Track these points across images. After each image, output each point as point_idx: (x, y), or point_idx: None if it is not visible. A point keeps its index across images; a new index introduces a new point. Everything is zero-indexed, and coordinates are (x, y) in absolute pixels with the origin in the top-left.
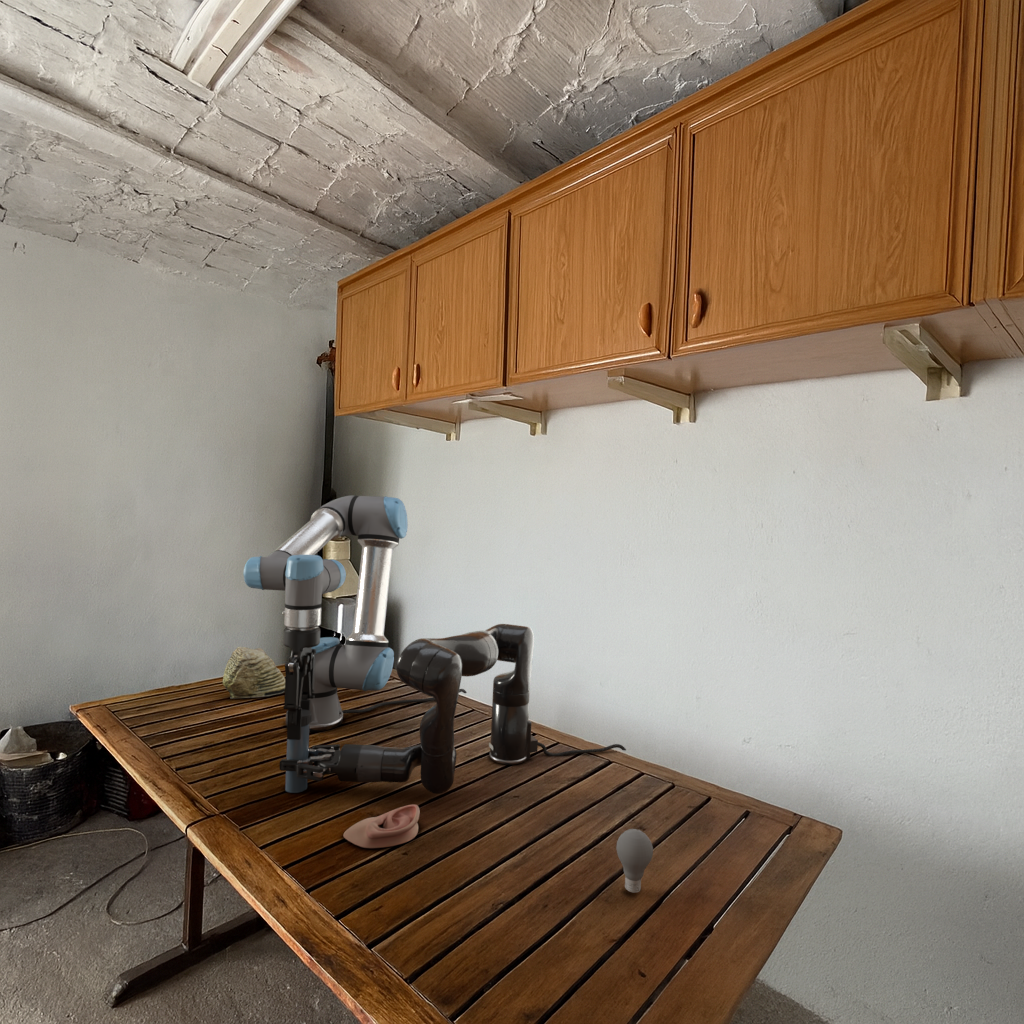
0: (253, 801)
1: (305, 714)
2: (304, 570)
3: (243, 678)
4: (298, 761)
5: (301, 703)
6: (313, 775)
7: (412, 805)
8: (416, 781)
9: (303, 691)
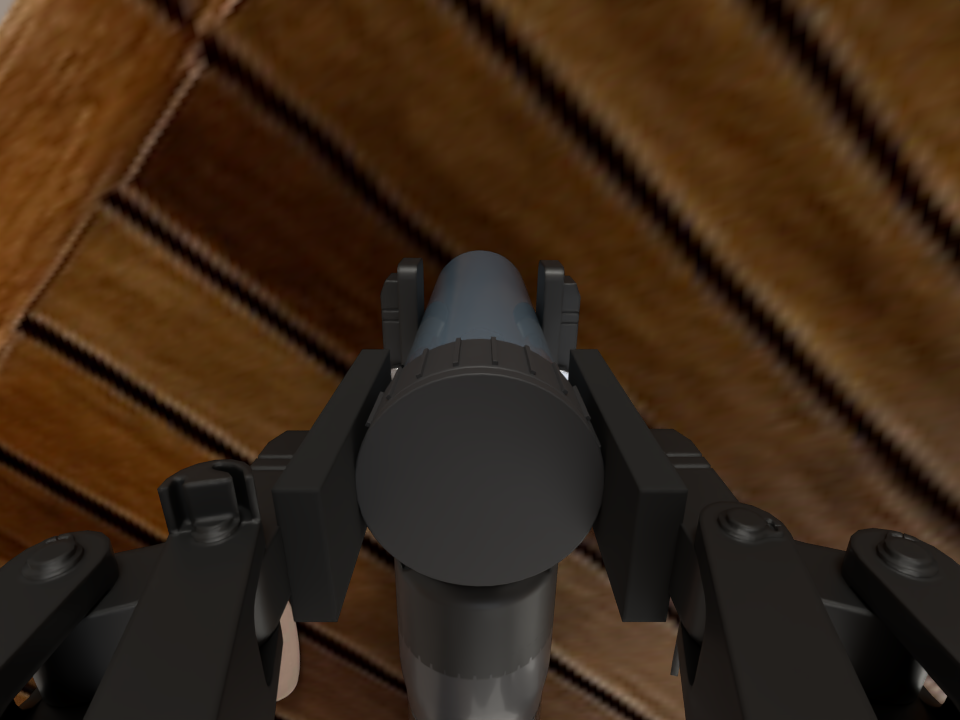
0: (337, 153)
1: (447, 553)
2: None
3: None
4: (391, 375)
5: (621, 517)
6: None
7: None
8: (562, 660)
9: (699, 660)
